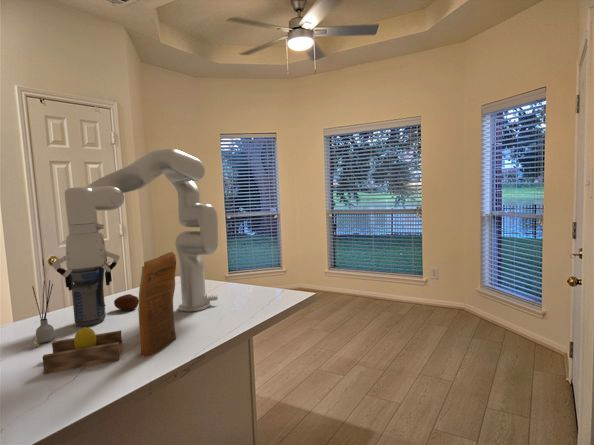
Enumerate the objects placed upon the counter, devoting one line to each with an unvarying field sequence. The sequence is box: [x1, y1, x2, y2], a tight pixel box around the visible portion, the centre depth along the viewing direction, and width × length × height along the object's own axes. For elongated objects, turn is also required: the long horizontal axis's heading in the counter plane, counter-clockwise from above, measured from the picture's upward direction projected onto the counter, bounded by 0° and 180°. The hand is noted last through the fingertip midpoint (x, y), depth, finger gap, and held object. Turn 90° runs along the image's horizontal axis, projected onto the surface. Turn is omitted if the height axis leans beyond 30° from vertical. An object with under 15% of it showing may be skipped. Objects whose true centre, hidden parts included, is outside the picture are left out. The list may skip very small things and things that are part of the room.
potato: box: [113, 293, 139, 311], centre depth 150 cm, size 7×9×6 cm
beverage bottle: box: [71, 267, 107, 327], centre depth 135 cm, size 10×13×25 cm
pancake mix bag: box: [137, 251, 177, 358], centre depth 110 cm, size 7×19×28 cm, turn 165°
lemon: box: [73, 326, 96, 349], centre depth 104 cm, size 6×6×8 cm
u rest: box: [41, 330, 123, 375], centre depth 104 cm, size 18×12×5 cm, turn 112°
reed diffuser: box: [29, 280, 55, 349], centre depth 117 cm, size 10×7×20 cm
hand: (89, 286), depth 107 cm, fingers open, 9 cm apart
